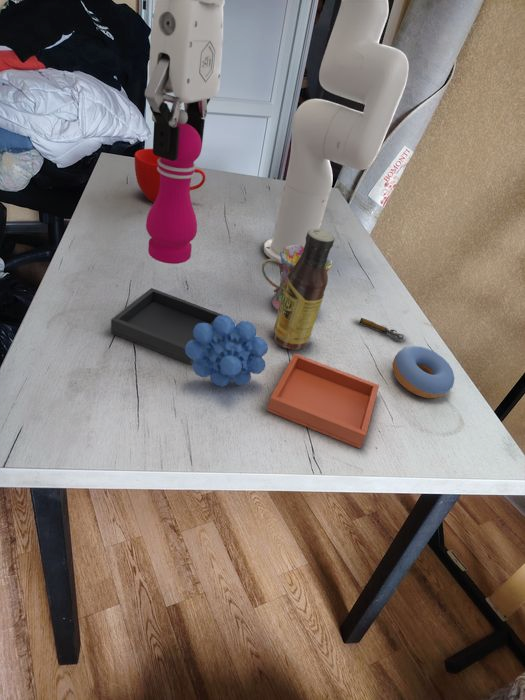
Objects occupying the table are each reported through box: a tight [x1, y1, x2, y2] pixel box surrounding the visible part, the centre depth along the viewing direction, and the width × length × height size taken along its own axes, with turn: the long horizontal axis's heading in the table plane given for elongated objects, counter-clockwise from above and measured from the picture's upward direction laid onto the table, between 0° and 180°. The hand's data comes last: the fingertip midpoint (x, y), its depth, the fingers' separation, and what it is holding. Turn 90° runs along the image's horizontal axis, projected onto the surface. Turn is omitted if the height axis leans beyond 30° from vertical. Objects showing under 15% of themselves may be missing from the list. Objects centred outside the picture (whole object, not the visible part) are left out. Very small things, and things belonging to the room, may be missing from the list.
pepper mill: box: [145, 108, 203, 265], centre depth 65 cm, size 7×7×20 cm
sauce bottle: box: [272, 228, 336, 351], centre depth 75 cm, size 6×6×20 cm
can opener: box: [359, 317, 406, 342], centre depth 88 cm, size 9×2×1 cm, turn 60°
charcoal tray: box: [110, 287, 224, 365], centre depth 76 cm, size 12×14×3 cm
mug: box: [261, 245, 333, 312], centre depth 86 cm, size 12×9×11 cm
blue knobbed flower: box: [185, 314, 269, 388], centre depth 65 cm, size 12×7×12 cm, turn 102°
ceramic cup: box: [134, 148, 206, 203], centre depth 116 cm, size 13×17×10 cm
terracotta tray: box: [266, 353, 380, 449], centre depth 69 cm, size 12×14×3 cm
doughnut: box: [392, 345, 455, 399], centre depth 77 cm, size 10×10×5 cm
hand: (178, 151), depth 62 cm, fingers closed on pepper mill, 6 cm apart
